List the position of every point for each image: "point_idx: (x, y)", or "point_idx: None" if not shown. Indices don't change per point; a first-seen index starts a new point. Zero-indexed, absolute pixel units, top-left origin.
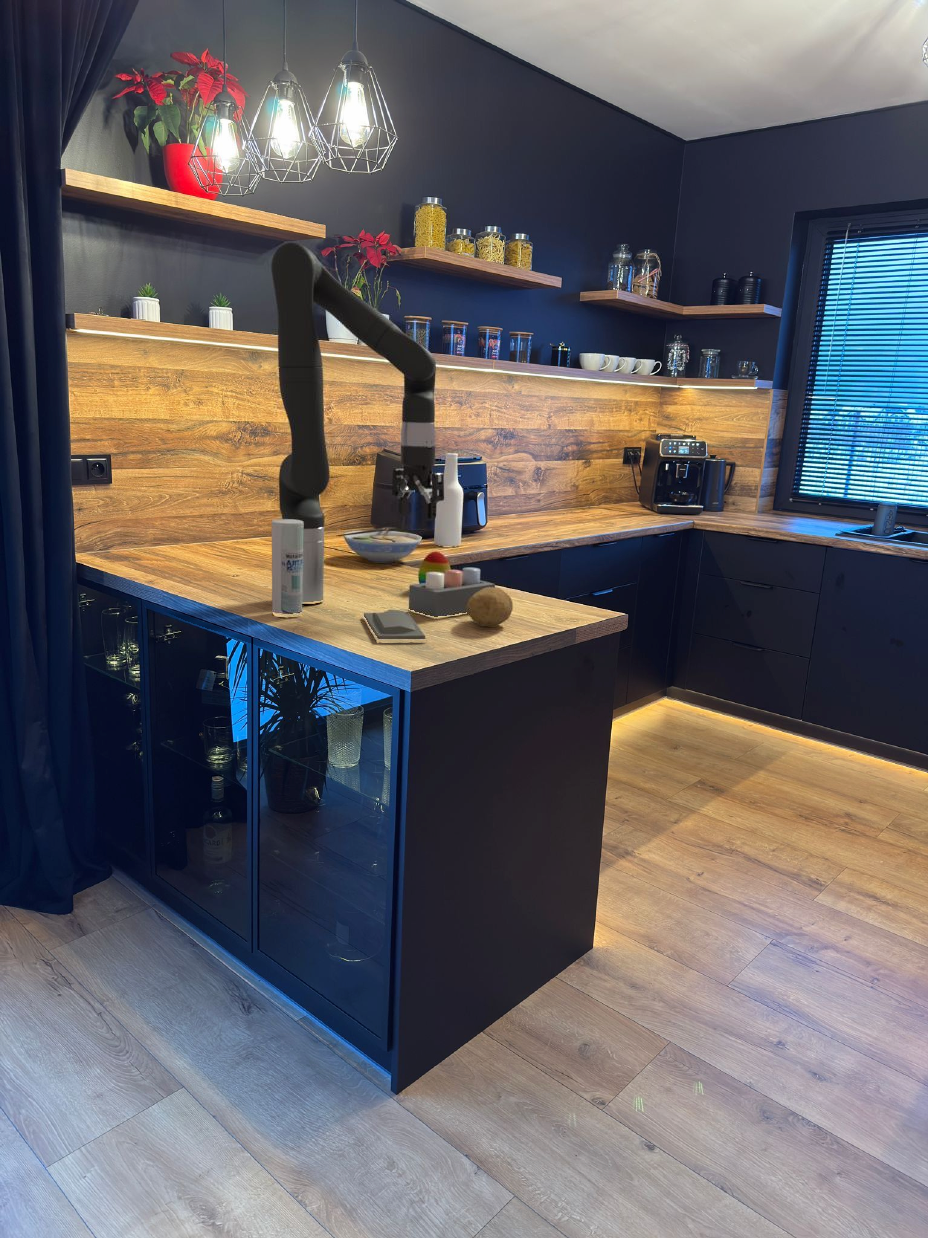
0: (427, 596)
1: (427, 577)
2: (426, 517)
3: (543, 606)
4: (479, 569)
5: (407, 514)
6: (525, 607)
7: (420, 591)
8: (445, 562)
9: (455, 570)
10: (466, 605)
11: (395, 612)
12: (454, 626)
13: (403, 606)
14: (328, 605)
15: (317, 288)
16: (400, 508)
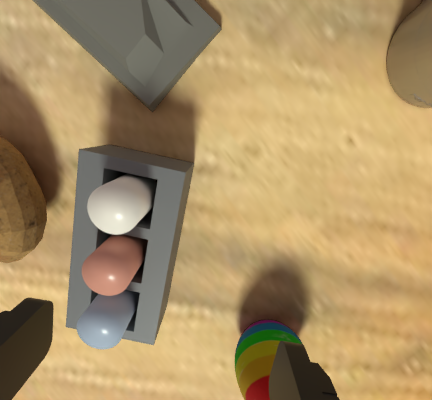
0: (120, 154)
1: (123, 183)
2: (32, 306)
3: (57, 367)
4: (84, 340)
5: (272, 384)
6: (71, 342)
7: (144, 162)
8: (246, 396)
9: (111, 287)
10: (6, 150)
11: (117, 19)
12: (48, 126)
13: (230, 192)
14: (362, 72)
15: None
16: (308, 381)
